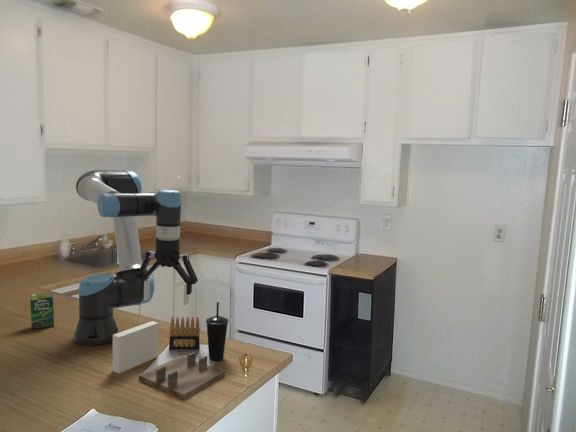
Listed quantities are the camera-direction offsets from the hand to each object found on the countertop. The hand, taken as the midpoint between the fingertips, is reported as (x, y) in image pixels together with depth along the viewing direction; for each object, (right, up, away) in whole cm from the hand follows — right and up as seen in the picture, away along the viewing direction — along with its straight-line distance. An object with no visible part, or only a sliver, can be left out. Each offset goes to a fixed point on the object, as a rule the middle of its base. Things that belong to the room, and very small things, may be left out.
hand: (166, 301), depth 150 cm
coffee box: (-55, -15, +27) cm, 64 cm away
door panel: (-10, -21, +1) cm, 23 cm away
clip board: (+7, -22, -8) cm, 25 cm away
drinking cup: (+15, -21, +7) cm, 27 cm away
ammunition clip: (+3, -20, +14) cm, 24 cm away
